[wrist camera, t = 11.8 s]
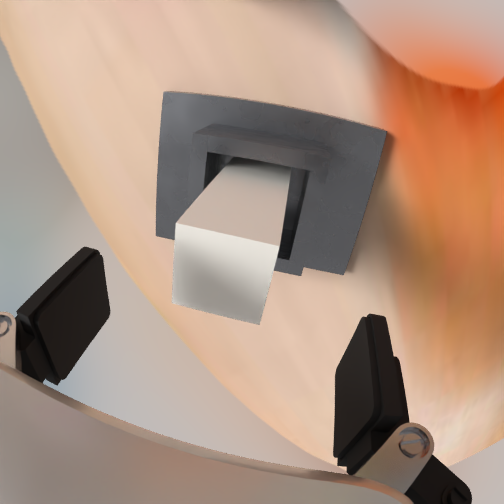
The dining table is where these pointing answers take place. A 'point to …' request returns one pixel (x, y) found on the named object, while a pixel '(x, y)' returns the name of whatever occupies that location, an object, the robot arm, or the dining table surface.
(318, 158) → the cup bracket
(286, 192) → the rail post
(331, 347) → the dining table surface
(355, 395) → the robot arm
